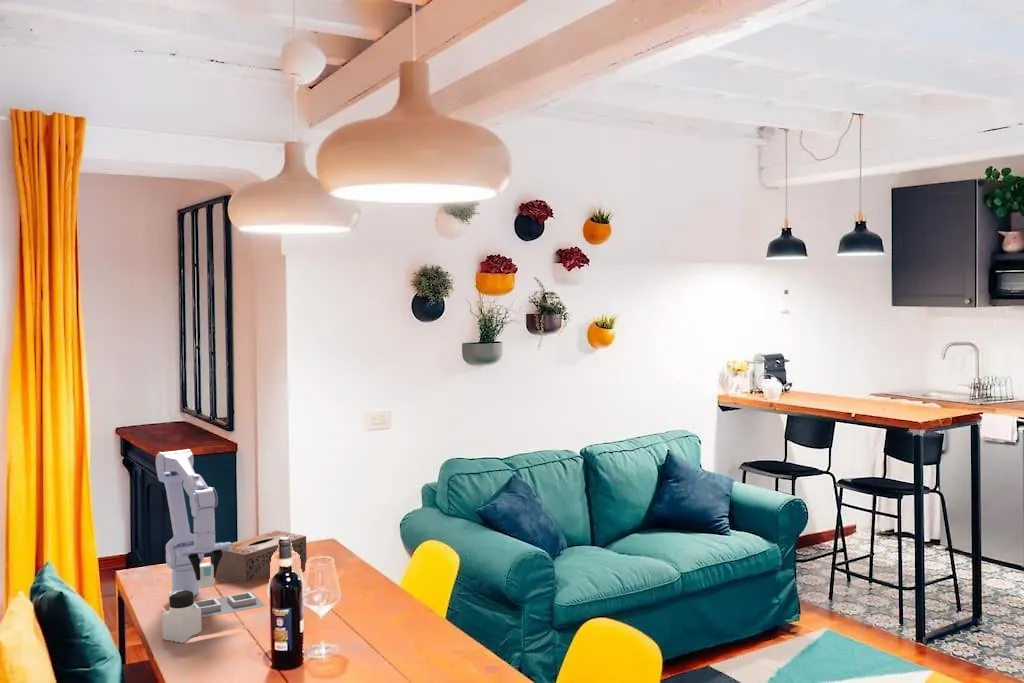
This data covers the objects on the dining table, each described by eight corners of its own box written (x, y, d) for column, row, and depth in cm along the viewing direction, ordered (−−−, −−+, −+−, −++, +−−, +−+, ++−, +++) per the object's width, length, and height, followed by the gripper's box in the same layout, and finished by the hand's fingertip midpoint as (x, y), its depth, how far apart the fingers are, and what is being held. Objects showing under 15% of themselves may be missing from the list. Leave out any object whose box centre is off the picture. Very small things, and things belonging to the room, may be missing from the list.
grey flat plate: (182, 608, 262) (182, 599, 262) (252, 595, 272) (252, 587, 272) (194, 622, 250) (193, 613, 250) (265, 609, 261) (265, 600, 260)
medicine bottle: (202, 634, 242) (201, 590, 241) (182, 643, 235) (181, 598, 234) (182, 630, 245) (181, 586, 244) (161, 639, 238) (160, 594, 237)
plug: (198, 584, 259) (197, 564, 258) (210, 582, 261) (210, 562, 260) (201, 588, 255) (200, 567, 255) (214, 586, 257) (213, 565, 257)
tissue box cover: (245, 586, 282) (244, 554, 281) (215, 578, 290) (214, 548, 289) (306, 565, 303) (306, 536, 303) (277, 559, 311) (276, 530, 311)
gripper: (180, 538, 250) (182, 586, 251) (233, 530, 258) (235, 577, 259) (175, 532, 256) (176, 579, 257) (227, 525, 264) (228, 571, 265)
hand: (205, 578), depth 258 cm, fingers closed on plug, 4 cm apart
